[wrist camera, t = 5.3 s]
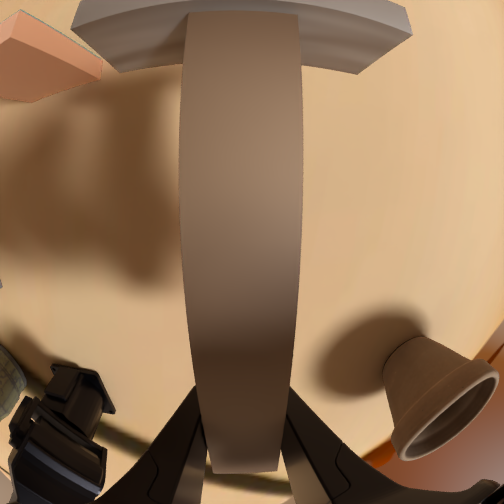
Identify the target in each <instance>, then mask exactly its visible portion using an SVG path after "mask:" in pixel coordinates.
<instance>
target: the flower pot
mask: <svg viewBox="0 0 504 504" xmlns="http://www.w3.org/2000/svg"><path fill="white" fill-rule="evenodd" d="M383 381H384V386H385V390H386V395H387V399H388V403H389V407H390V410H391V414H392V418H393V422H394V427H395V428H394V430H393V432H392V435H391V442H392V444H393V446H394V448H395V450H396V452H397V455H398V457H399V458H400V459H401V460H403V461H411V460H415V459H418V458H421V457H423V456H426V455H428V454H430V453H431V452H433V451H435V450H437V449H438V448H440V447H441V446H443V445H444V444H446V443H447V442H449V441H450V440H451V439H453V438H454V437H455V436H457V435H458V434H459V433H460V432H461V431H462V430H464V429H465V428H466V427H467V426H468V425H469V424H470V423H471V422H472V421H473V420H474V419H475V418H476V417H477V415H478V414H479V413H480V412H481V411H482V409H483V408H484V407H485V405H486V404H487V403H488V401H489V400H490V398H491V397H492V395H493V393H494V391H495V389H496V387H497V385H498V381H499V373H498V371H497V370H495V369H494V368H493V367H492V366H491V365H490V364H489V363H487V362H486V361H485V360H483V359H475V360H469V359H467V358H465V357H463V356H461V355H460V354H458V353H456V352H454V351H453V350H451V349H449V348H447V347H445V346H444V345H442V344H440V343H438V342H436V341H433V340H431V339H429V338H427V337H416V338H413V339H411V340H409V341H407V342H405V343H404V344H402V345H401V346H400V347H399V348H398V349H397V350H396V351H395V352H394V353H393V354H392V355H391V356H390V357H389V359H388V360H387V362H386V364H385V366H384V369H383Z"/></svg>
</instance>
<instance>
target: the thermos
mask: <svg viewBox="0 0 504 504" xmlns="http://www.w3.org/2000/svg"><path fill="white" fill-rule="evenodd" d="M26 385H27V384H26V379H25V376H24V374H23V372H22V370H21V368H20V367H19V365H18V364H17V362H16V361H15V360H14V358H13V357H12V356H11V355H10V354H9V352H8V351H7V350H6V349H5V348H4V347H3V346H1V345H0V421H1V420H2V419H4V418H5V417H6V416H8V415H9V414H10V412H11V411H12V409H13V408H14V406H15V404H16V403H17V401H18V400H19V396H20V393H21V392H22V391H23V390H24V388H25V387H26Z"/></svg>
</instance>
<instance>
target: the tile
mask: <svg viewBox="0 0 504 504" xmlns="http://www.w3.org/2000/svg"><path fill="white" fill-rule="evenodd" d="M102 62H103V61H102V60H101V59H100V58H99V57H97V56H96V55H95V54H93V53H92V52H90V51H89V50H87V49H86V48H84V47H83V46H81V45H80V44H78V43H76V42H75V41H73V40H72V39H70V38H69V37H67V36H65V35H64V34H62V33H61V32H59V31H57V30H56V29H54V28H52V27H51V26H49V25H47V24H46V23H44V22H42V21H41V20H39V19H37V18H35V17H34V16H32V15H30V14H28V13H26V12H25V11H23V10H21V9H20V10H19V11H17V12H16V13H14V14H13V15H11V16H10V17H8V18H7V19H5V20H4V21H3V22H1V23H0V98H7V99H13V100H19V101H25V102H31V103H32V102H35V101H37V100H40V99H42V98H45V97H47V96H50V95H53V94H55V93H58V92H61V91H64V90H67V89H70V88H73V87H76V86H80V85H83V84H86V83H90V82H94V81H97V80H100V78H101V70H102Z"/></svg>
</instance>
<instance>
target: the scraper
mask: <svg viewBox="0 0 504 504" xmlns="http://www.w3.org/2000/svg"><path fill="white" fill-rule="evenodd" d="M71 30H72V31H73V32H74V33H75V34H77V35H78V36H79V37H80V38H81V39H82V40H84V41H85V42H86V43H87V44H88V45H89V46H90V47H92V48H93V49H94V50H95V51H96V52H97V53H98V54H99V55H101V56H102V57H103V58H104V59H105V60H106V61H107V62H108V63H110V64H111V65H112V66H113V67H114V68H115V69H116V70H117V71H118V72H119V73H123V72H127V71H133V70H138V69H144V68H150V67H157V66H165V65H173V64H183V72H182V85H181V102H180V126H179V210H180V235H181V253H182V268H183V281H184V293H185V304H186V314H187V323H188V332H189V340H190V348H191V355H192V363H193V370H194V376H195V383H196V389H197V395H198V401H199V407H200V412H201V417H202V423H203V428H204V433H205V438H206V443H207V447H208V452H209V456H210V461H211V465H212V469H213V473H216V474H236V473H259V472H272V471H277V469H278V463H279V457H280V451H281V444H282V438H283V431H284V424H285V417H286V410H287V402H288V394H289V386H290V377H291V368H292V359H293V349H294V339H295V328H296V316H297V303H298V289H299V274H300V256H301V235H302V206H303V99H302V72H301V65H304V66H311V67H318V68H325V69H331V70H336V71H341V72H346V73H351V74H356V75H358V74H359V73H360V72H361V71H363V70H364V69H365V68H367V67H368V66H369V65H371V64H372V63H374V62H375V61H376V60H378V59H379V58H380V57H382V56H383V55H385V54H386V53H387V52H389V51H390V50H392V49H393V48H395V47H396V46H397V45H399V44H400V43H402V42H403V41H405V40H406V39H408V38H409V37H411V36H412V35H413V33H412V29H411V26H410V22H409V19H408V15H407V12H406V9H405V7H403V6H400V5H398V4H395V3H393V2H390V1H388V0H82V1H80V3H79V6H78V9H77V11H76V14H75V17H74V20H73V23H72V26H71Z"/></svg>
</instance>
